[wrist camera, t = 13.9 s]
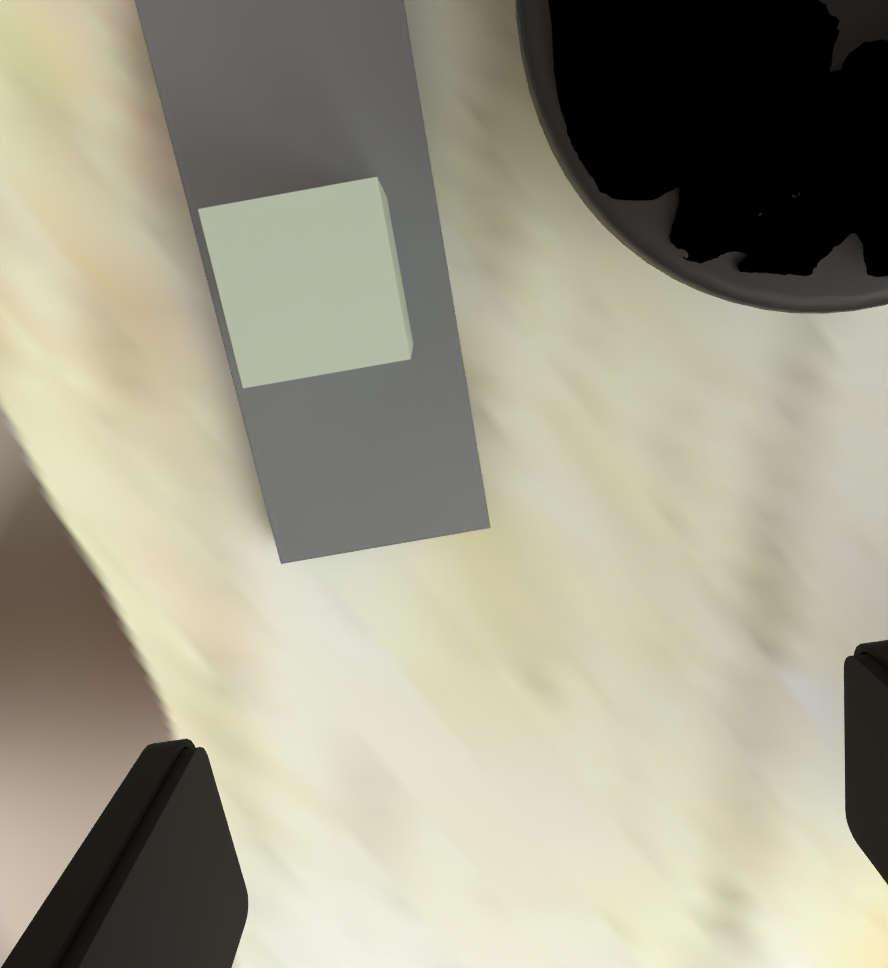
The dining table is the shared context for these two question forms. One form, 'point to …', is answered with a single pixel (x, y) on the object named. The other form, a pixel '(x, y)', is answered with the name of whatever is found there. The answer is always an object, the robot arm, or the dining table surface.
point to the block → (309, 281)
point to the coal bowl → (726, 138)
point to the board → (417, 232)
